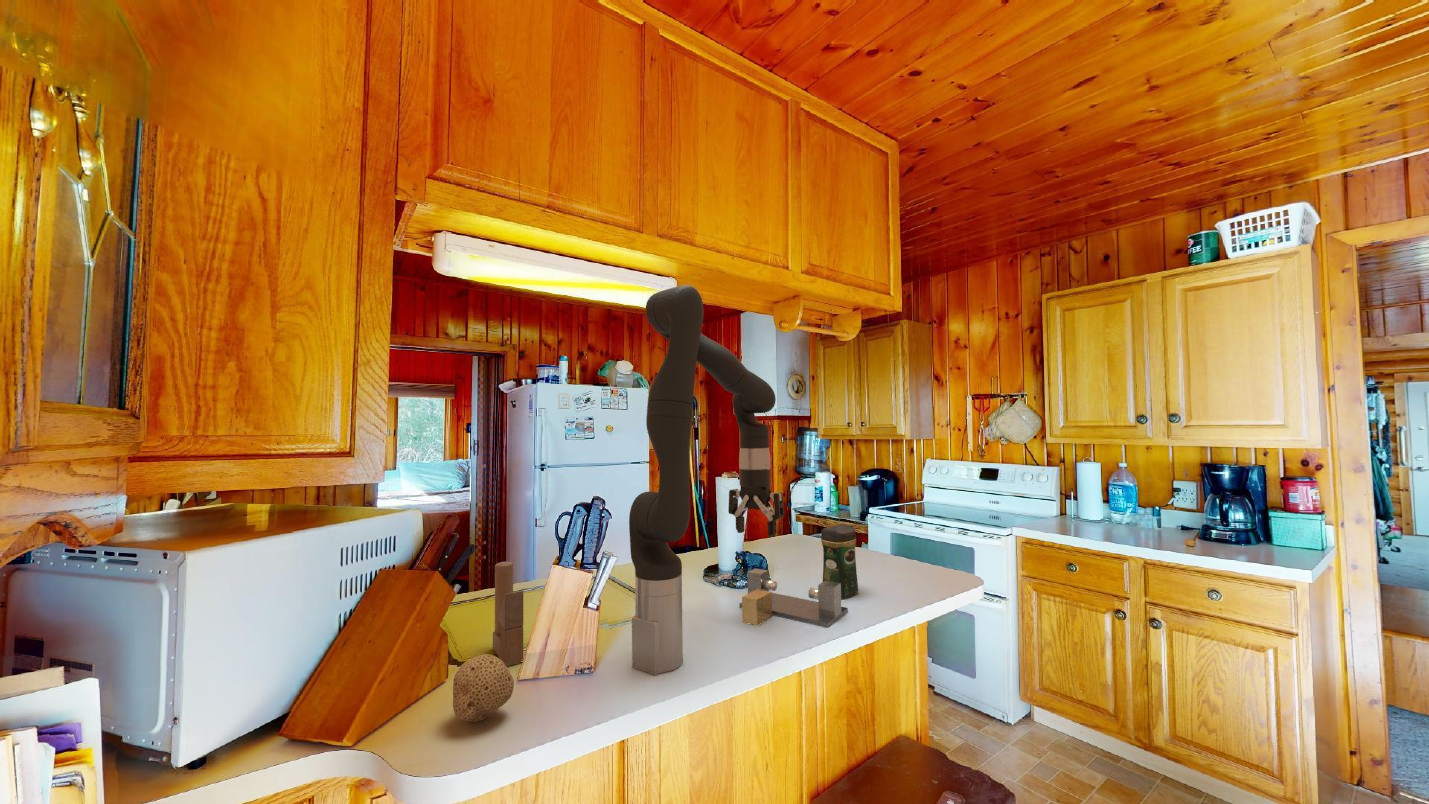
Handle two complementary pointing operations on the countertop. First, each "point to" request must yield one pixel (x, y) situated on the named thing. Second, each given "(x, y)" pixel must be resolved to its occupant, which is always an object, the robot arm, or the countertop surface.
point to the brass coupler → (756, 607)
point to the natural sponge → (481, 687)
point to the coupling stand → (802, 600)
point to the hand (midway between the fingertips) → (755, 534)
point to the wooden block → (507, 616)
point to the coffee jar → (840, 558)
